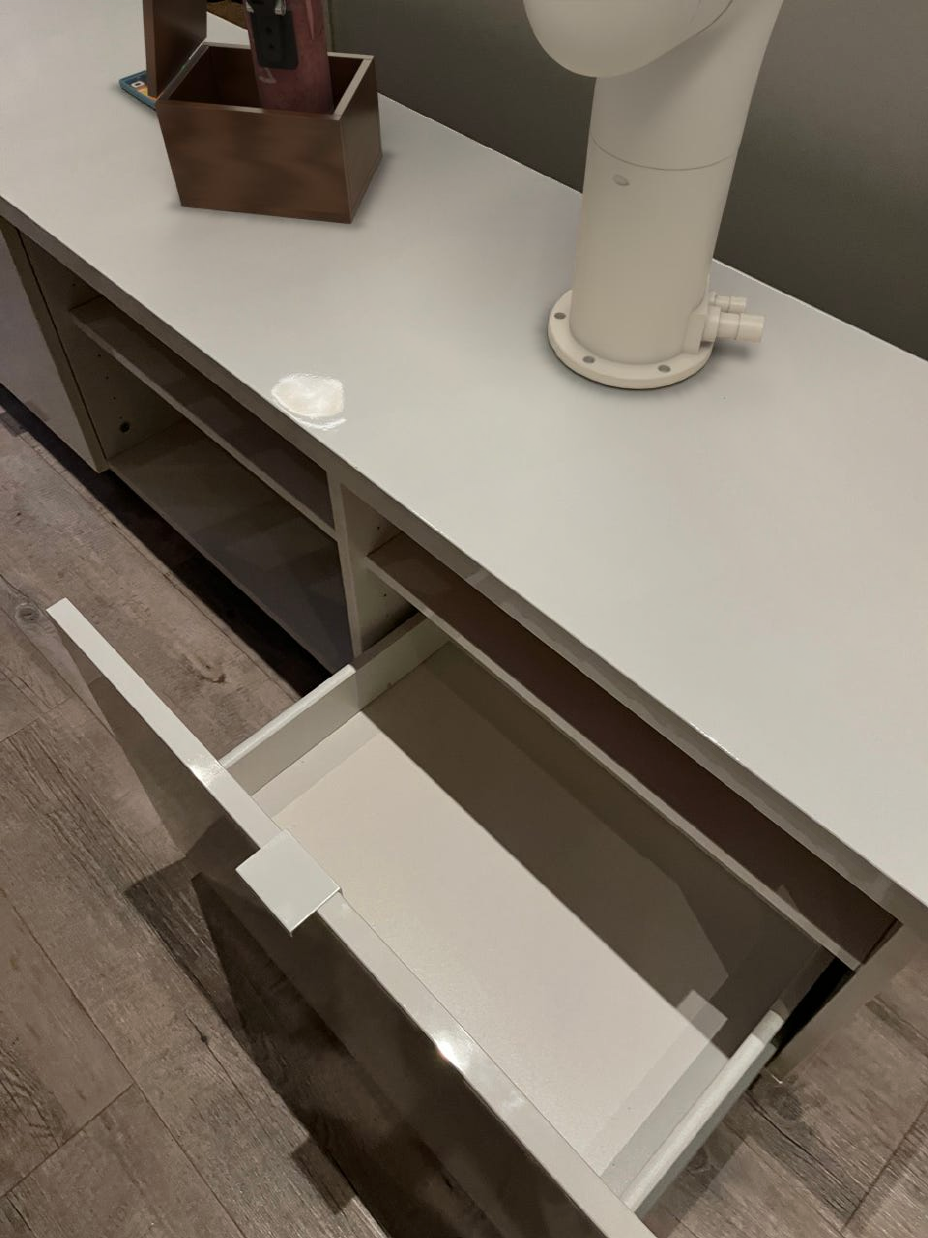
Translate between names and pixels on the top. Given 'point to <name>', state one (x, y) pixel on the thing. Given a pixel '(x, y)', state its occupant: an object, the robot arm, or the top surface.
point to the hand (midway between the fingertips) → (291, 45)
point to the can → (312, 74)
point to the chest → (269, 139)
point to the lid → (171, 38)
